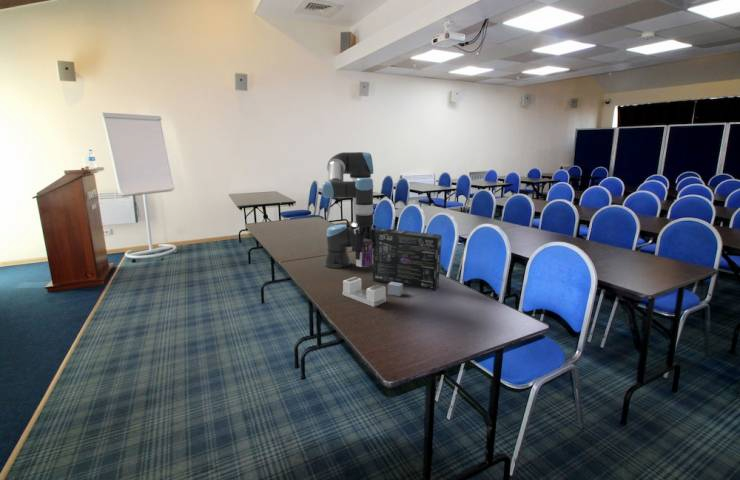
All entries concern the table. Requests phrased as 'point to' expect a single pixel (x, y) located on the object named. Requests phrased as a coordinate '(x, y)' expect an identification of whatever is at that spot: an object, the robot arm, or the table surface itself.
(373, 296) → the block
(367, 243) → the beverage can
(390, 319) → the table surface
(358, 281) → the block
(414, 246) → the box
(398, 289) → the block
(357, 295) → the white base plate
